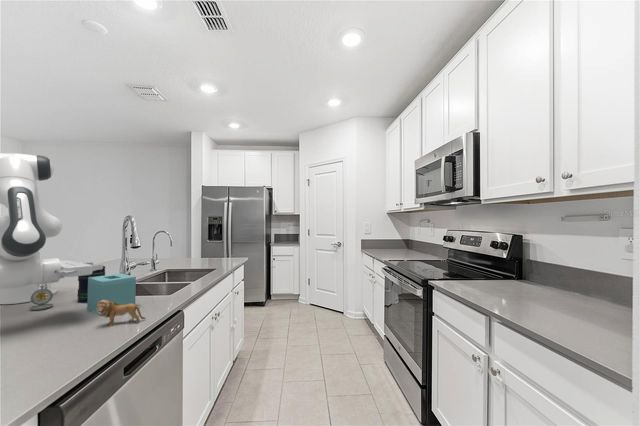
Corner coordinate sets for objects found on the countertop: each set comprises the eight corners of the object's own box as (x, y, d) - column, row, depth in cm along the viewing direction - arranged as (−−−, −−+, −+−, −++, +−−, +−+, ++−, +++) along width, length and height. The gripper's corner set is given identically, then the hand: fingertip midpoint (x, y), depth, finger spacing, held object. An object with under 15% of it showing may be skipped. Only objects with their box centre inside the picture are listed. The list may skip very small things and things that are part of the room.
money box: (87, 309, 116) (88, 277, 117) (120, 302, 126) (120, 273, 127) (101, 315, 109) (102, 281, 109) (135, 307, 119) (135, 276, 119)
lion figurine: (94, 329, 95) (94, 302, 95) (97, 324, 100) (98, 298, 100) (144, 322, 102) (145, 297, 102) (146, 317, 107) (146, 294, 107)
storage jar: (72, 301, 127) (73, 268, 127) (95, 296, 136) (96, 265, 136) (86, 304, 123) (87, 270, 124) (109, 298, 132) (110, 266, 133)
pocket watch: (38, 311, 113) (39, 286, 113) (22, 310, 115) (23, 285, 115) (60, 305, 121) (61, 282, 121) (45, 304, 123) (46, 281, 123)
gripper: (61, 264, 96) (108, 259, 108) (43, 259, 107) (87, 256, 119) (60, 282, 96) (108, 276, 108) (42, 276, 107) (87, 271, 119)
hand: (97, 265), depth 114 cm, fingers open, 8 cm apart
